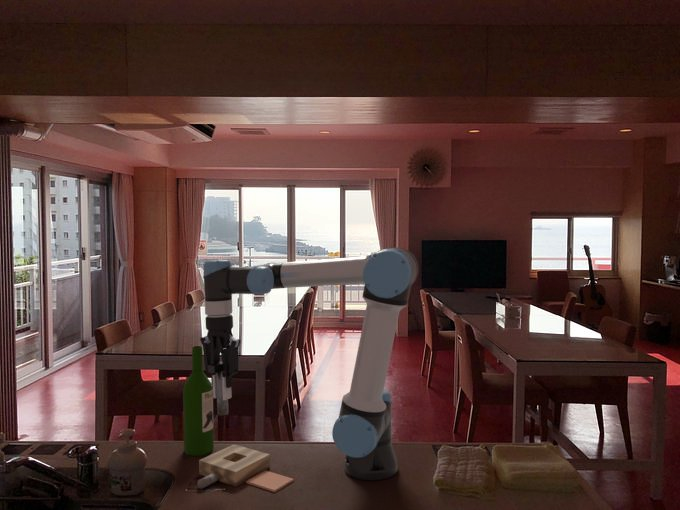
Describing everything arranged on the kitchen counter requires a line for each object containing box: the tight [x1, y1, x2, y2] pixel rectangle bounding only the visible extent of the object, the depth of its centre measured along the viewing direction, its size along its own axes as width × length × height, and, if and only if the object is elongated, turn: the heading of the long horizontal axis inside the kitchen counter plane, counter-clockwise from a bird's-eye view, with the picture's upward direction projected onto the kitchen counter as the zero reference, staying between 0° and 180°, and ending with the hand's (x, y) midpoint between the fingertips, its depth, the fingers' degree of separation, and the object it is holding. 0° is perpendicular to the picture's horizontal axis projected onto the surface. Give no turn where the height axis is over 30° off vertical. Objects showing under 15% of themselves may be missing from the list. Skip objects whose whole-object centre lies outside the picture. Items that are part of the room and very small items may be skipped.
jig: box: [197, 444, 271, 490], centre depth 160 cm, size 14×20×4 cm
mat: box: [245, 470, 294, 493], centre depth 156 cm, size 10×8×1 cm
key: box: [208, 360, 229, 416], centre depth 161 cm, size 3×8×14 cm, turn 148°
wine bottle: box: [182, 345, 214, 457], centre depth 177 cm, size 9×9×32 cm
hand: (222, 397), depth 161 cm, fingers closed on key, 3 cm apart
